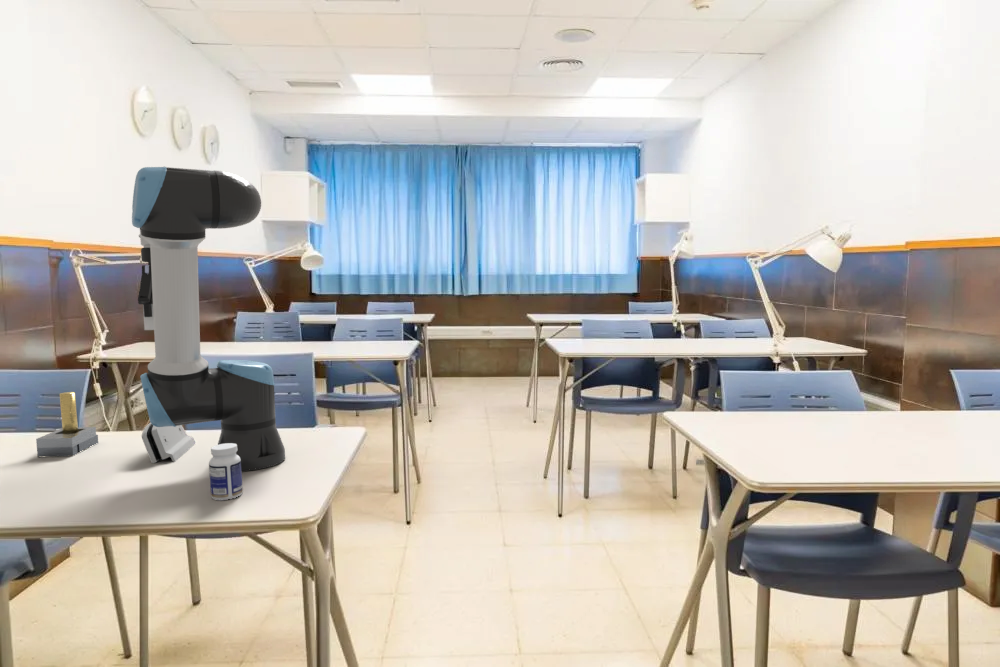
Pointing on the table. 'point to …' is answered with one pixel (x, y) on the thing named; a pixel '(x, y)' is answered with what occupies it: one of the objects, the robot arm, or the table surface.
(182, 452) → the white piece
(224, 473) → the pill bottle
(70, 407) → the pin
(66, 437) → the grey block with pocket
